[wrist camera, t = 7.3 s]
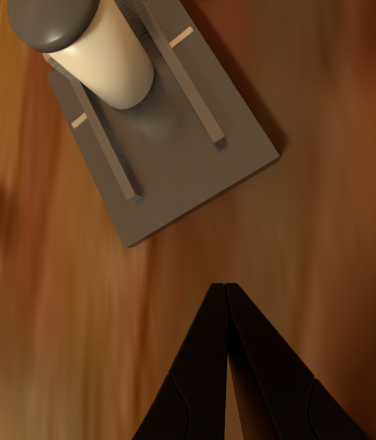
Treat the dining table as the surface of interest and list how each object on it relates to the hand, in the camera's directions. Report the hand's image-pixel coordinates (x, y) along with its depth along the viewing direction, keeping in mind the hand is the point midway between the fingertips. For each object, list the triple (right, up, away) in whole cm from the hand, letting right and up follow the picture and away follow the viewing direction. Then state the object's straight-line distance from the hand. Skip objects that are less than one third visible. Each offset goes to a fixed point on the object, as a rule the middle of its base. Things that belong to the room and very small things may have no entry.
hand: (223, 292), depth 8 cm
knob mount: (-5, +13, +16) cm, 21 cm away
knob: (-7, +16, +15) cm, 23 cm away
